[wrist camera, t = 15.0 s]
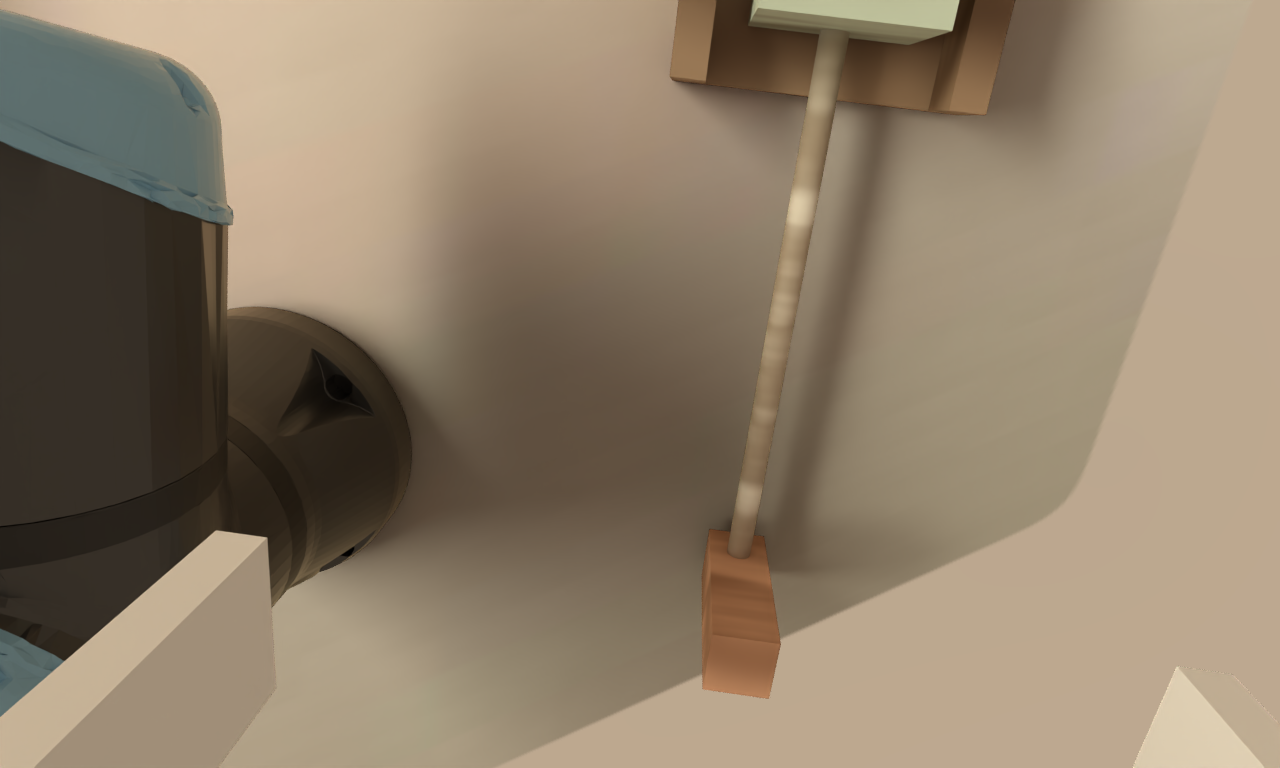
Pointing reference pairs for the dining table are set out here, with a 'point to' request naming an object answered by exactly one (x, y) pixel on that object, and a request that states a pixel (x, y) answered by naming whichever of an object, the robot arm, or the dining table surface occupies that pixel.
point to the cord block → (787, 335)
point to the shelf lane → (873, 71)
